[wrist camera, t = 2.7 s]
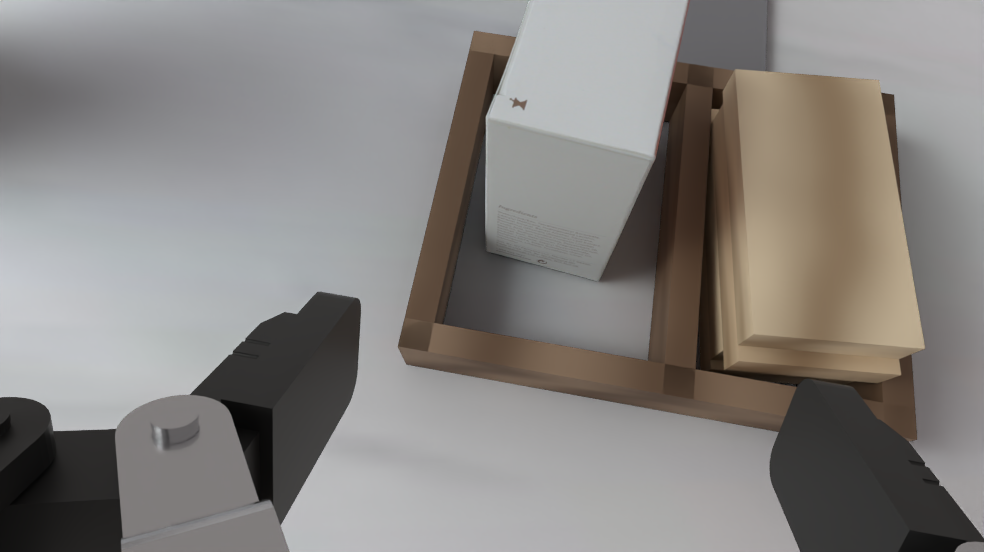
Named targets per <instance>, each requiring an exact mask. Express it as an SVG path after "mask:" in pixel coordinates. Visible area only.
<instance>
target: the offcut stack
mask: <svg viewBox="0 0 984 552" xmlns="http://www.w3.org/2000/svg"><path fill="white" fill-rule="evenodd" d="M699 341H700V369H701V370H703V371H708V372H714V373H719V374H725V375H731V376H736V377H742V378H748V379H753V380H759V381H767V382H779V383H790V384H800V382H801V381H803V380H804V379H813V380H818V381H824V382H830V383H835V384H841V385H847V384H850V383H852V382H855V381H856V382H867V383H880V382H883V381H886V380H889V379H892V378H894V377H897V376H900V375H901V370H900V363H899V359H901V358H903V357H906V356H908V355H911V354H913V353H916V352H918V351H921V350H923V349H925V345H924V339H923V333H922V327H921V322H920V316H919V310H918V304H917V298H916V293H915V287H914V281H913V275H912V269H911V263H910V258H909V252H908V246H907V240H906V234H905V229H904V223H903V217H902V211H901V205H900V199H899V194H898V188H897V182H896V176H895V170H894V165H893V159H892V153H891V147H890V141H889V136H888V130H887V124H886V118H885V112H884V106H883V101H882V95H881V89H880V83H879V80H869V79H856V78H844V77H831V76H818V75H805V74H792V73H780V72H767V71H754V70H741V69H735V70H734V72H733V74H732V76H731V77H730V79H729V81H728V83H727V85H726V86H725V88H724V90H723V104H722V106H721V108H720V109H711V126H710V142H709V158H708V174H707V190H706V207H705V223H704V239H703V255H702V272H701V288H700V304H699Z"/></svg>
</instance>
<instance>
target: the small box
mask: <svg viewBox="0 0 984 552" xmlns="http://www.w3.org/2000/svg"><path fill="white" fill-rule="evenodd" d="M689 3H690V0H529V2H528V5H527V8H526V11H525V14H524V17H523V20H522V23H521V26H520V29H519V32H518V34H517V37H516V40H515V43H514V46H513V48H512V51H511V54H510V57H509V60H508V63H507V65H506V68H505V71H504V74H503V76H502V79H501V81H500V84H499V87H498V89H497V92H496V94H495V96H494V98H493V101H492V103H491V106H490V108H489V110H488V113H487V115H486V180H485V184H486V187H485V232H486V251H487V252H491V253H495V254H499V255H502V256H506V257H510V258H513V259H517V260H521V261H524V262H528V263H532V264H536V265H539V266H543V267H547V268H550V269H554V270H558V271H561V272H565V273H569V274H572V275H576V276H580V277H583V278H587V279H591V280H595V281H599V280H600V278H601V276H602V274H603V272H604V270H605V267H606V265H607V263H608V261H609V259H610V257H611V254H612V252H613V250H614V248H615V246H616V244H617V241H618V239H619V237H620V235H621V233H622V230H623V228H624V226H625V224H626V222H627V219H628V217H629V215H630V213H631V211H632V208H633V206H634V204H635V202H636V199H637V197H638V195H639V193H640V191H641V188H642V186H643V184H644V182H645V180H646V177H647V175H648V173H649V171H650V169H651V167H652V165H653V163H654V161H655V159H656V155H657V150H658V146H659V141H660V136H661V131H662V127H663V122H664V118H665V113H666V109H667V104H668V100H669V95H670V91H671V86H672V81H673V77H674V72H675V67H676V63H677V58H678V54H679V49H680V44H681V40H682V35H683V30H684V26H685V21H686V17H687V12H688V8H689Z"/></svg>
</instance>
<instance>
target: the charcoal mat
mask: <svg viewBox="0 0 984 552" xmlns="http://www.w3.org/2000/svg"><path fill="white" fill-rule="evenodd" d="M767 6H768V0H690V3H689V8H688V12H687V17H686V21H685V26H684V30H683V35H682V40H681V44H680V49H679V54H678V58H677V62H682V63H688V64H695V65H702V66H708V67H715V68H721V69H728V70H735V69H741V70H754V71H766V47H767Z"/></svg>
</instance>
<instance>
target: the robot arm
mask: <svg viewBox="0 0 984 552" xmlns="http://www.w3.org/2000/svg"><path fill="white" fill-rule="evenodd" d="M360 318H361V304H360V300H359V299H358V298H353V297H347V296H342V295H336V294H330V293H325V292H317V293H316V294H315V295H314V296H313V297H312V298H311V299H310V300H309V302H308V303H307V304H306V305H305V306H304V307H303V308H302V309H301V310H300V311H299V313H298V314H292V313H287V312H284V313H282V314H280V315H277V316H275V317H273V318H271V319H269V320H267V321H264V322H262V323H260V324H259V325H258V326H257V327H256V328H255V329H254V330H253V331H252V332H251V334H250V335H249V336H248V337H247V338H246V340H245V342H242V343H241V344H240V345H239V346H238V347H237V348H236V349H235V350H234V351H233V354H232V355H229V356H228V357H227V358H226V359H225V360H224V361H223V362H222V363H221V364H220V365H219V366H218V367H217V368H216V369H215V370H214V371H213V372H212V373H211V374H210V375H209V376H208V377H207V378H206V379H205V380H204V381H203V382H202V383H201V384H200V385H199V386H198V387H197V388H196V389H195V390H194V391H193V392H192V393H191V394H190V395H178V396H171V397H166V398H161V399H158V400H155V401H151V402H149V403H147V404H144V405H142V406H140V407H138V408H137V409H135V410H133V411H132V412H131V413H129V414H128V415H127V416H126V417H125V418H124V419H123V420H122V421H121V422H120V424H119V425H118V427H117V429H108V430H81V431H53V427H52V421H51V415H50V413H49V410H48V409H47V408H46V407H45V406H44V405H43V404H41V403H39V402H37V401H34V400H31V399H26V398H18V397H2V398H0V552H289V549H288V546H287V543H286V540H285V537H284V535H283V532H282V529H281V526H280V525H281V524H282V522H283V520H284V518H285V517H286V515H287V513H288V511H289V510H290V508H291V506H292V504H293V502H294V501H295V499H296V497H297V495H298V494H299V492H300V490H301V488H302V486H303V485H304V483H305V481H306V479H307V478H308V476H309V474H310V472H311V471H312V469H313V467H314V465H315V463H316V462H317V460H318V458H319V456H320V455H321V453H322V451H323V449H324V447H325V446H326V444H327V442H328V440H329V439H330V437H331V435H332V433H333V432H334V430H335V428H336V426H337V424H338V423H339V421H340V419H341V417H342V416H343V414H344V412H345V410H346V408H347V407H348V405H349V403H350V400H351V398H352V395H353V392H354V388H355V384H356V378H357V370H358V353H359V335H360ZM770 477H771V482H772V485H773V488H774V490H775V492H776V495H777V497H778V500H779V502H780V504H781V507H782V509H783V511H784V514H785V516H786V519H787V521H788V523H789V526H790V528H791V530H792V533H793V535H794V537H795V540H796V542H797V545H798V547H799V549H800V552H984V538H983V537H982V535H981V534H980V533H979V532H978V530H977V529H976V528H975V526H974V525H973V524H972V523H971V521H970V520H969V519H968V518H967V516H966V515H965V514H964V512H963V511H962V510H961V509H960V507H959V506H958V505H957V503H956V502H955V501H954V500H953V498H952V497H951V496H950V494H949V493H948V492H947V491H946V489H945V488H944V487H943V486H939V480H938V479H937V478H936V476H935V475H934V474H933V473H932V471H931V470H930V469H929V468H928V467H925V462H924V461H923V460H922V458H921V457H920V456H919V455H918V453H917V452H916V451H915V449H914V448H913V447H912V446H911V444H910V443H909V442H908V441H907V440H906V439H905V438H903V437H902V436H901V435H900V434H898V433H897V432H896V431H895V430H893V429H892V428H891V427H889V426H888V425H887V424H886V423H884V422H883V421H882V420H880V419H877V418H876V416H875V415H874V414H873V412H872V411H871V410H870V408H869V407H868V406H867V404H866V403H865V402H864V400H863V399H862V398H861V396H860V395H859V394H858V392H857V391H856V390H855V389H854V388H853V387H851V386H847V385H841V384H835V383H830V382H824V381H818V380H813V379H804V380H803V381H801V382H800V384H799V385H798V386H797V388H796V390H795V393H794V395H793V398H792V400H791V403H790V405H789V408H788V411H787V413H786V416H785V418H784V421H783V423H782V426H781V428H780V431H779V433H778V436H777V438H776V441H775V444H774V446H773V449H772V453H771V458H770Z"/></svg>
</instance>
